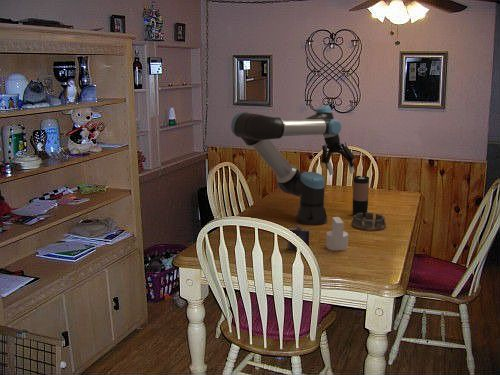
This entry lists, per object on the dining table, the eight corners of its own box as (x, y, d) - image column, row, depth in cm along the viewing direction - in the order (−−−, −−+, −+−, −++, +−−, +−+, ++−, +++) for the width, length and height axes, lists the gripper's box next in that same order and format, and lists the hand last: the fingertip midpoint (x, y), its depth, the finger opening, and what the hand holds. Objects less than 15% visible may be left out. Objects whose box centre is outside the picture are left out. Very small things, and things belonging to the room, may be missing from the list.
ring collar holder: (367, 233, 251) (368, 223, 250) (344, 224, 265) (344, 215, 264) (393, 227, 260) (393, 218, 258) (369, 219, 273) (369, 210, 272)
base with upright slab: (324, 243, 238) (325, 217, 235) (345, 243, 238) (346, 216, 235) (328, 250, 229) (329, 223, 226) (349, 250, 229) (351, 222, 227)
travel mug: (357, 218, 274) (359, 179, 269) (349, 214, 281) (350, 176, 276) (370, 216, 277) (372, 178, 272) (361, 213, 284) (363, 175, 279)
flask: (286, 249, 231) (286, 225, 228) (288, 247, 233) (288, 223, 231) (308, 252, 228) (308, 227, 225) (309, 249, 231) (310, 225, 228)
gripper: (354, 130, 277) (365, 169, 282) (316, 135, 295) (327, 172, 300) (346, 135, 272) (357, 174, 277) (308, 140, 290) (319, 177, 295)
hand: (342, 173), depth 289 cm, fingers open, 13 cm apart
